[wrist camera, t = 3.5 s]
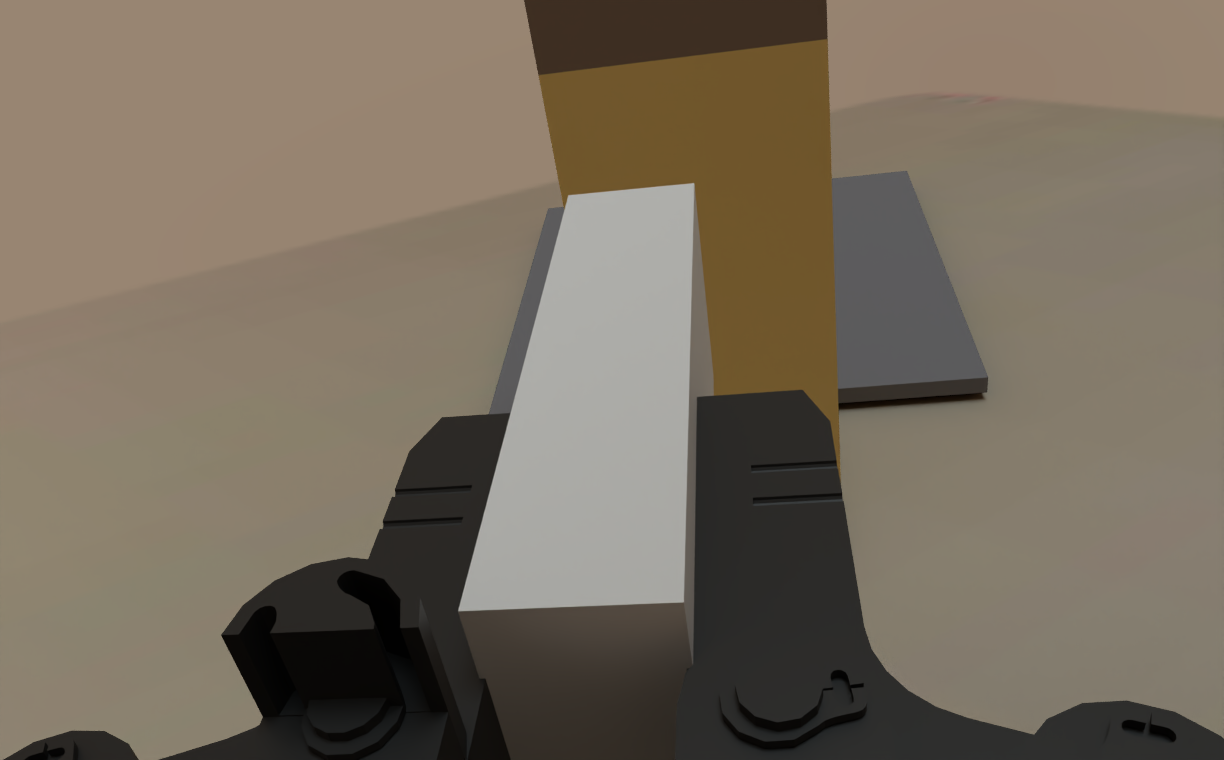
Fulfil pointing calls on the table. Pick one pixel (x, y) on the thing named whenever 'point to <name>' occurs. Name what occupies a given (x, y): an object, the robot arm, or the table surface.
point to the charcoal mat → (846, 300)
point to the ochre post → (713, 159)
